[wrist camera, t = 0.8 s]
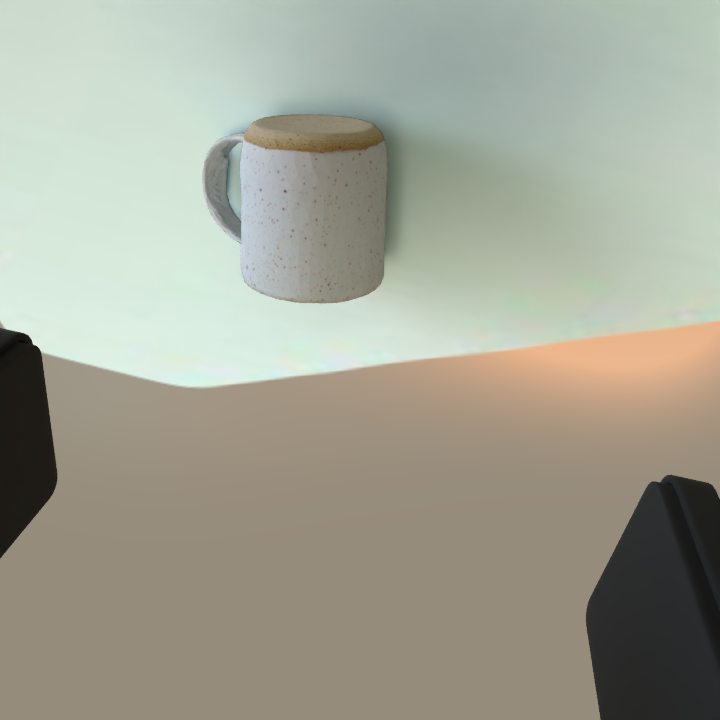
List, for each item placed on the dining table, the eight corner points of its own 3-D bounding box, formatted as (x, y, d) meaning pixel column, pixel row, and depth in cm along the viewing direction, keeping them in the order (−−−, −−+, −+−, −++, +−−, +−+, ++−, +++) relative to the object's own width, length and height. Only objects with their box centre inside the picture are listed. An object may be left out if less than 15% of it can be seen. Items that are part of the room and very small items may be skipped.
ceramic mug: (398, 111, 34) (374, 143, 28) (392, 259, 38) (370, 317, 32) (205, 102, 36) (139, 130, 29) (220, 245, 40) (165, 298, 33)
